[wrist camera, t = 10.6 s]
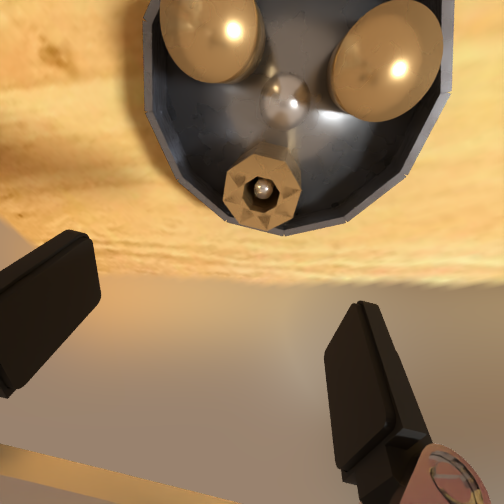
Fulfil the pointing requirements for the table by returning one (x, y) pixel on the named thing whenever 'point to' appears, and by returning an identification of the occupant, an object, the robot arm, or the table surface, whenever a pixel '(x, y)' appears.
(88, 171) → the table surface
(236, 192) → the tan hollow faceted cylinder
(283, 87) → the tray
